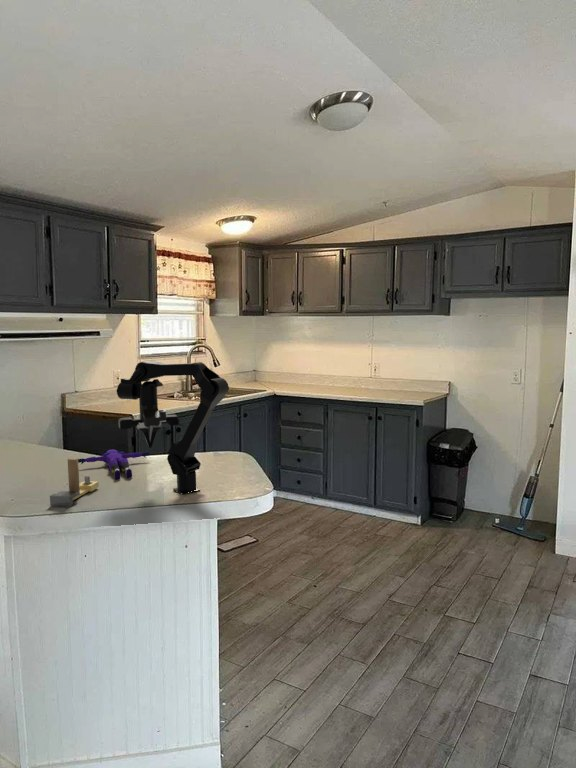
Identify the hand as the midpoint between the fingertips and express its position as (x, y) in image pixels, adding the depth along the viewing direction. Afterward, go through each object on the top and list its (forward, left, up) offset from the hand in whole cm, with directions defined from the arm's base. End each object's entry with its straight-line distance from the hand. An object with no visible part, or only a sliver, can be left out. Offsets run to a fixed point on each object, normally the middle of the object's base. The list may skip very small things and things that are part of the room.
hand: (150, 447), depth 182 cm
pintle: (+10, +17, -13) cm, 24 cm away
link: (+7, +21, -13) cm, 26 cm away
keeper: (+2, +27, -13) cm, 30 cm away
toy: (+30, -2, -14) cm, 33 cm away
